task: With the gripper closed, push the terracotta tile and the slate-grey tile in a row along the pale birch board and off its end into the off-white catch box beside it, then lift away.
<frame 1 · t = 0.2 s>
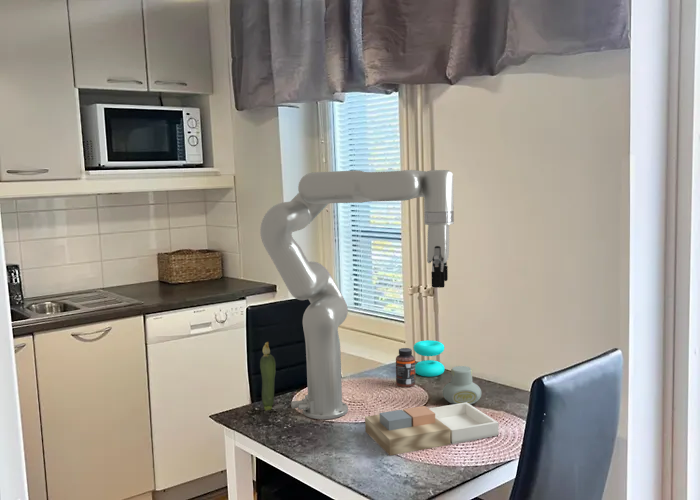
hand: (439, 283, 181), 37 cm above the table, tool pointing down, fingers open, 9 cm apart
tile 1: (395, 424, 172), point 4 cm above the table, touching board
vegetable: (269, 410, 197), on the table
board: (406, 437, 174), on the table
donuts: (429, 373, 227), on the table
tile 2: (419, 420, 175), point 4 cm above the table, touching board
catch box: (459, 428, 179), on the table
supplement bottle: (405, 385, 215), on the table
air freshener: (461, 403, 198), on the table
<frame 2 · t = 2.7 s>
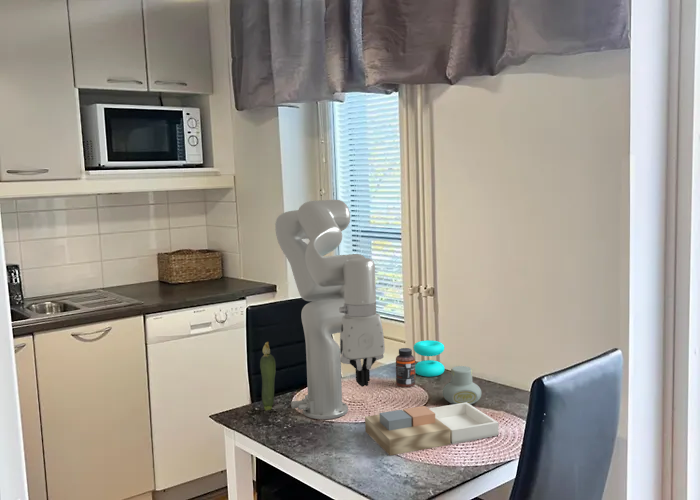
hand: (362, 384, 168), 16 cm above the table, tool pointing down, fingers closed
nothing on the table moved.
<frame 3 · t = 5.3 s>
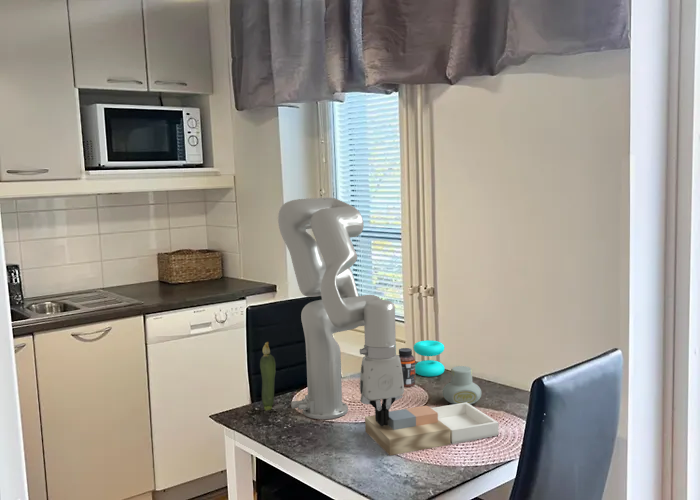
hand: (382, 423, 171), 5 cm above the table, tool pointing down, fingers closed
tile 1: (399, 423, 173), point 4 cm above the table, touching gripper
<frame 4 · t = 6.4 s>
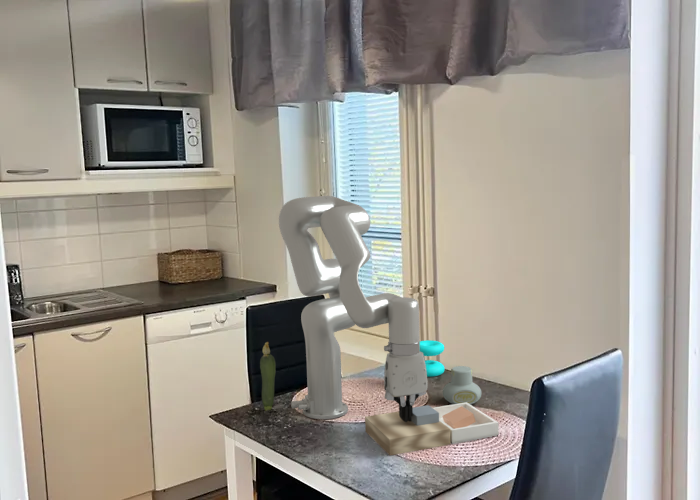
hand: (406, 419, 173), 5 cm above the table, tool pointing down, fingers closed
tile 1: (422, 419, 175), point 4 cm above the table, touching gripper
tile 2: (457, 414, 178), point 4 cm above the table, tilted 162°
everything else where it was.
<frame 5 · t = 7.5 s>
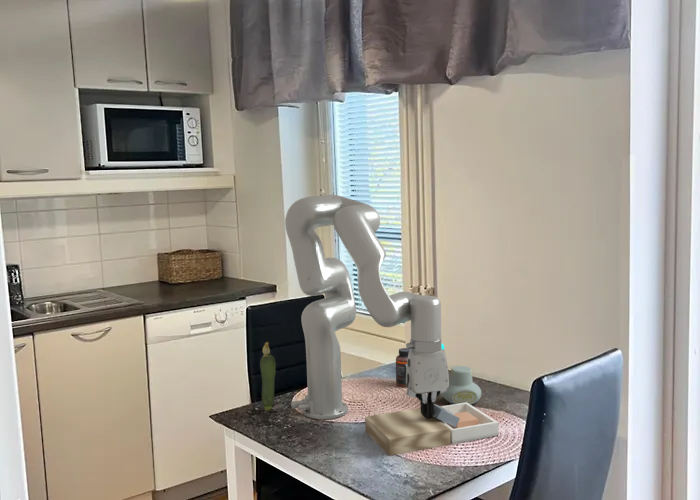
hand: (427, 416, 175), 5 cm above the table, tool pointing down, fingers closed
tile 1: (441, 418, 177), point 4 cm above the table, tilted 31°, touching gripper, tile 2
tile 2: (462, 417, 179), point 3 cm above the table, tilted 180°, touching tile 1
everything else where it was.
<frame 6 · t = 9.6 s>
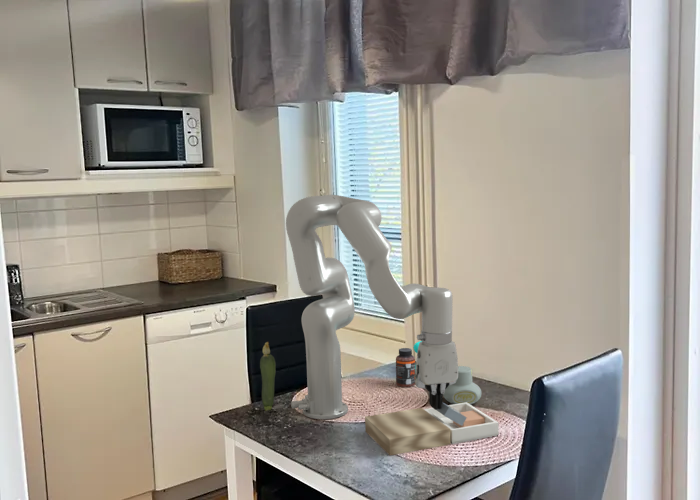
hand: (435, 407, 176), 7 cm above the table, tool pointing down, fingers closed
tile 1: (447, 416, 177), point 4 cm above the table, tilted 34°, touching tile 2
tile 2: (468, 415, 180), point 3 cm above the table, tilted 180°, touching catch box, tile 1
everything else where it was.
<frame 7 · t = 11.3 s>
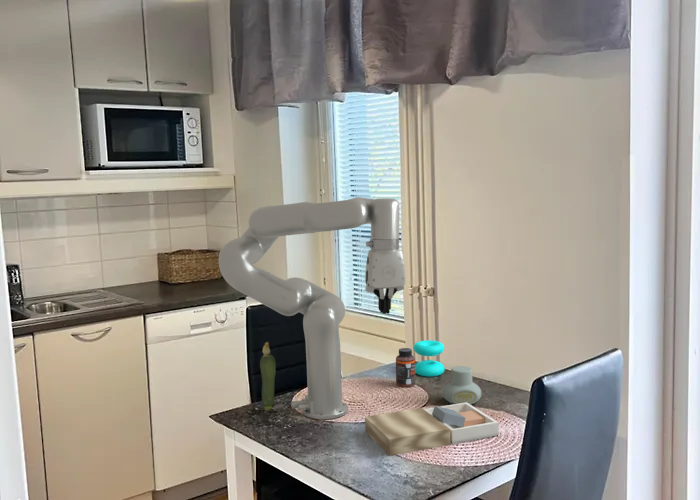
hand: (384, 312, 187), 28 cm above the table, tool pointing down, fingers closed
tile 1: (447, 420, 177), point 3 cm above the table, tilted 20°, touching catch box, tile 2
everything else where it was.
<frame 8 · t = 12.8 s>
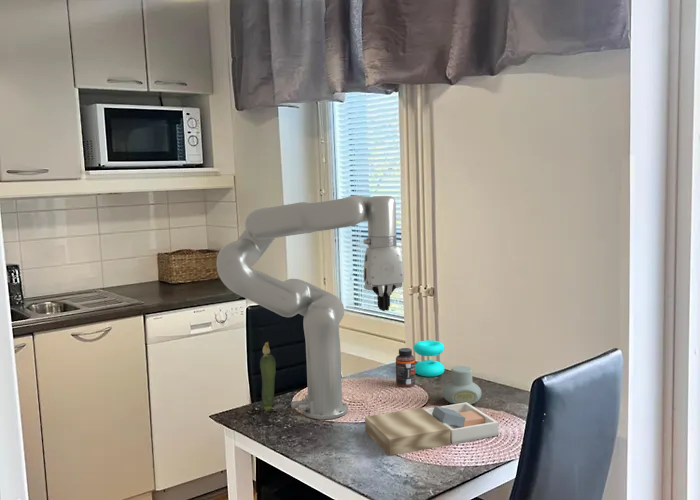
hand: (383, 309, 188), 29 cm above the table, tool pointing down, fingers closed
nothing on the table moved.
at the end: tile 2 inside the target area on the catch box (2.6 cm from its centre), point 3.0 cm above the catch box's base; tile 1 inside the target area on the catch box (3.7 cm from its centre), point 2.7 cm above the catch box's base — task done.
